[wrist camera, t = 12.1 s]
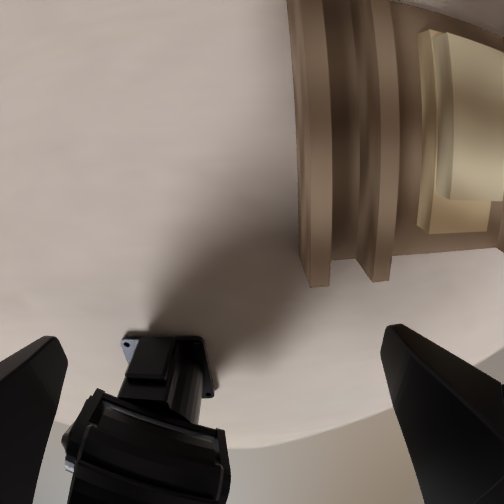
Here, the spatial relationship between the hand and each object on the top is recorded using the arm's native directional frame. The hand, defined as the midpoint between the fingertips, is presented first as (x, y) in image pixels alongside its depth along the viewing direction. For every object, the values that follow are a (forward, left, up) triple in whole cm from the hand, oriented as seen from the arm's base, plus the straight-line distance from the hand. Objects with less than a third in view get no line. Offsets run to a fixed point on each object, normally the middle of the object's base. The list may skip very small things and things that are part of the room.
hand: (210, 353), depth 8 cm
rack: (+5, -14, -12) cm, 19 cm away
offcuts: (+5, -14, -11) cm, 18 cm away
